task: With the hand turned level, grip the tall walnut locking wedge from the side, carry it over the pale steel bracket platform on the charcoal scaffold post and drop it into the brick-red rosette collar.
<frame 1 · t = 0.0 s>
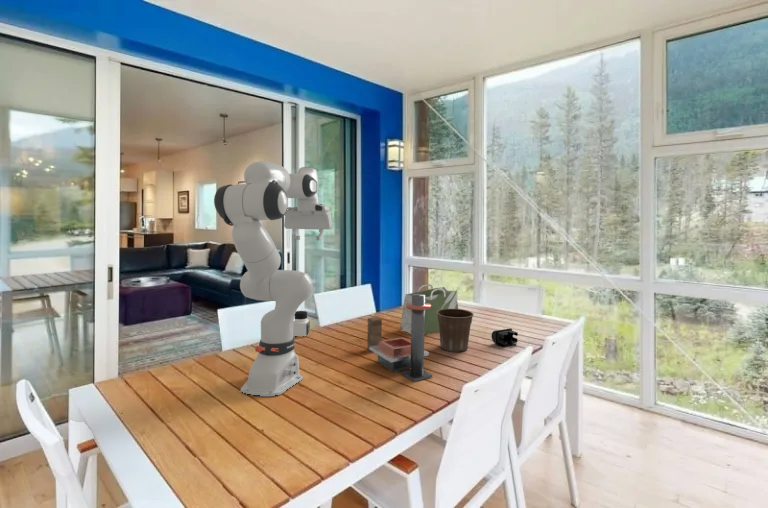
hand: (308, 240, 170), 48 cm above the table, tool pointing down, fingers open, 8 cm apart
grocery bag: (431, 329, 212), on the table
walnut wedge: (374, 350, 176), on the table
medicine bottle: (301, 335, 197), on the table
plant pot: (454, 348, 180), on the table
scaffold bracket: (398, 364, 159), on the table
end cap: (504, 344, 187), on the table
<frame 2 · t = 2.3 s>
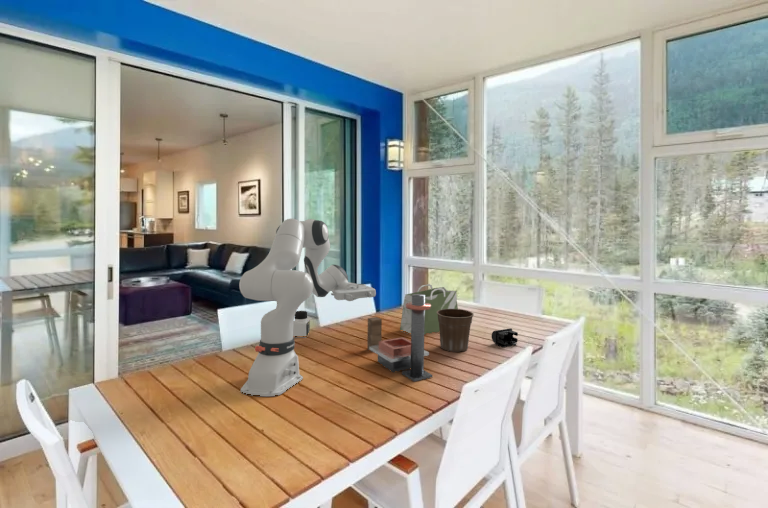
hand: (362, 296, 185), 22 cm above the table, tool horizontal, fingers open, 8 cm apart
nothing on the table moved.
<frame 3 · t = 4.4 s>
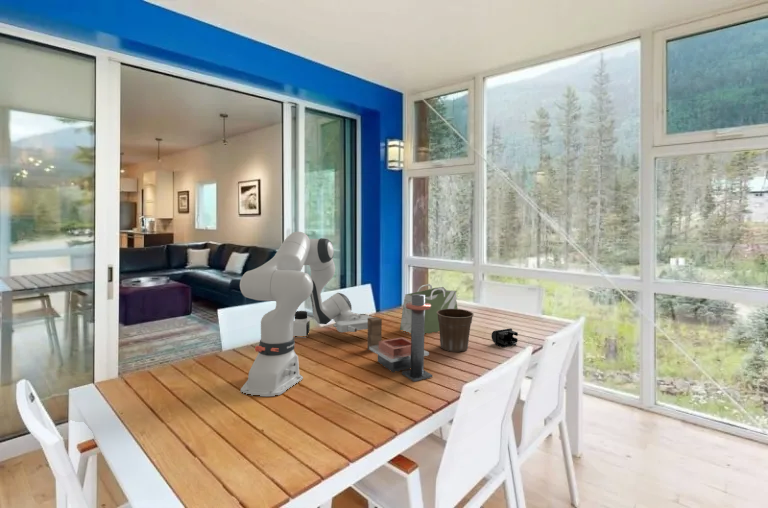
hand: (364, 328, 183), 7 cm above the table, tool horizontal, fingers open, 8 cm apart
nothing on the table moved.
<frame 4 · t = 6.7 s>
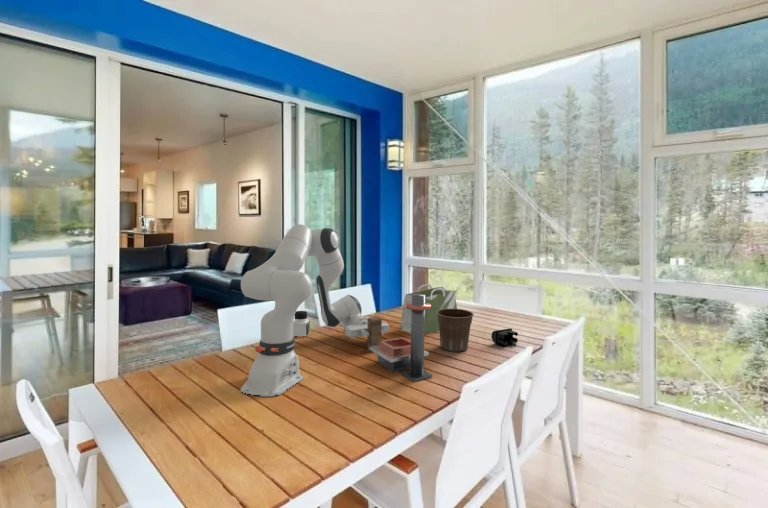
hand: (375, 333, 175), 8 cm above the table, tool horizontal, fingers closed on walnut wedge, 4 cm apart
walnut wedge: (374, 350, 176), on the table, touching gripper
everything else where it was.
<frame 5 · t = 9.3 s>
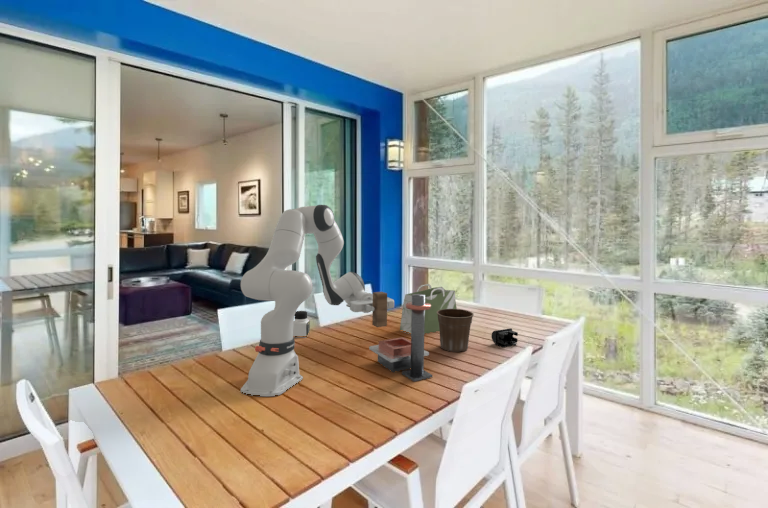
hand: (380, 308, 169), 20 cm above the table, tool horizontal, fingers closed on walnut wedge, 4 cm apart
walnut wedge: (379, 325, 171), point 12 cm above the table, touching gripper
when the fingers open (15 cm above the table, at t = 11.9 s): walnut wedge drops 1 cm, resting on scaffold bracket.
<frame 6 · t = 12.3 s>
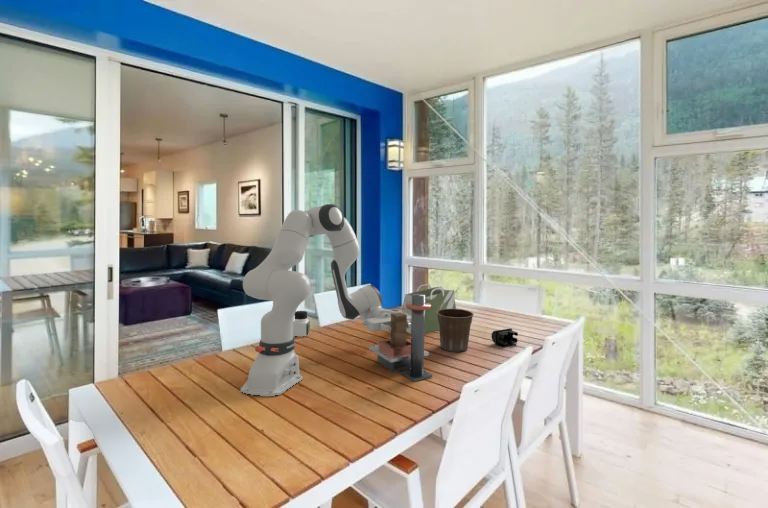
hand: (400, 327, 157), 15 cm above the table, tool horizontal, fingers open, 8 cm apart
walnut wedge: (398, 349, 158), point 6 cm above the table, touching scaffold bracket
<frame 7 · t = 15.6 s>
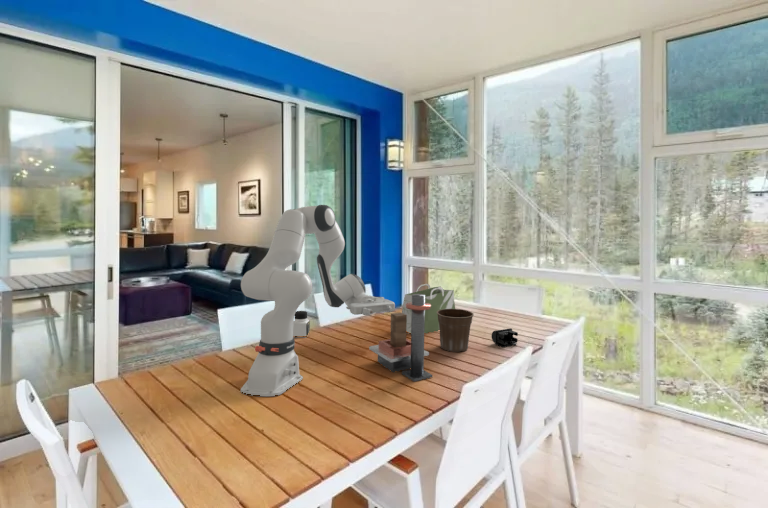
hand: (381, 310, 168), 19 cm above the table, tool horizontal, fingers open, 8 cm apart
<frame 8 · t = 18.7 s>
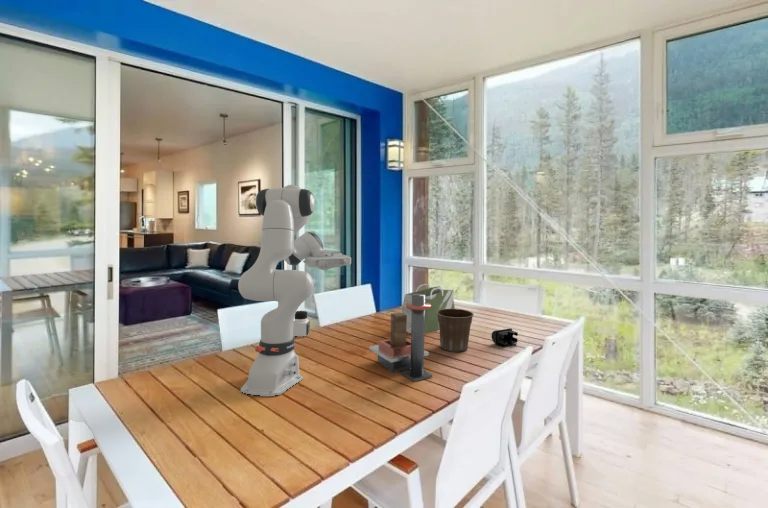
hand: (335, 263, 173), 38 cm above the table, tool horizontal, fingers open, 8 cm apart
at the end: walnut wedge inside the target area on the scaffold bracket (0.1 cm from its centre), point 6.2 cm above the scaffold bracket's base; walnut wedge tilted 0°; the gripper is holding nothing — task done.
